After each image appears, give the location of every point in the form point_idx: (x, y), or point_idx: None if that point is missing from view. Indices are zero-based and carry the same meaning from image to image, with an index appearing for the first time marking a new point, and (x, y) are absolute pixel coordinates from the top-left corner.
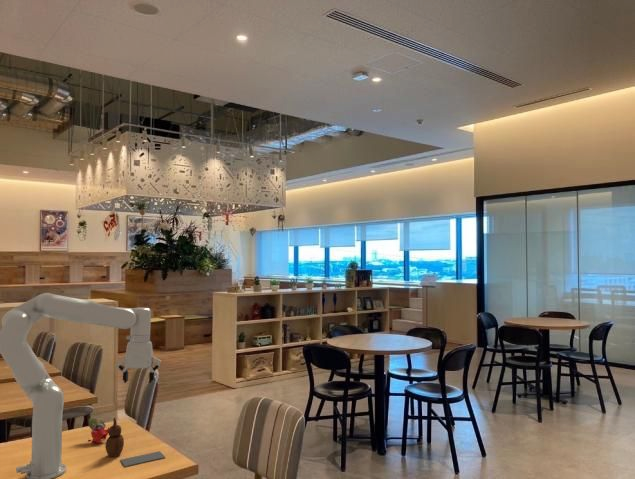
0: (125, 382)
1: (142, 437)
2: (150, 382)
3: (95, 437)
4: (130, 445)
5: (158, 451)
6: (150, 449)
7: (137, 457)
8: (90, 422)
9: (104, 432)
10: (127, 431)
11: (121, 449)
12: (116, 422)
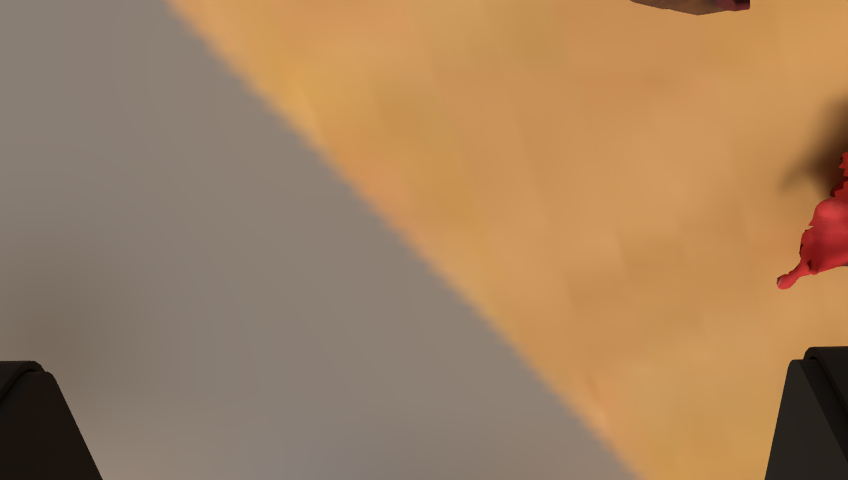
0: (808, 367)
1: (512, 268)
2: (2, 361)
3: None
4: (564, 112)
5: None
6: (360, 17)
7: None
8: None
9: (837, 229)
10: (660, 379)
11: None
12: (727, 2)
